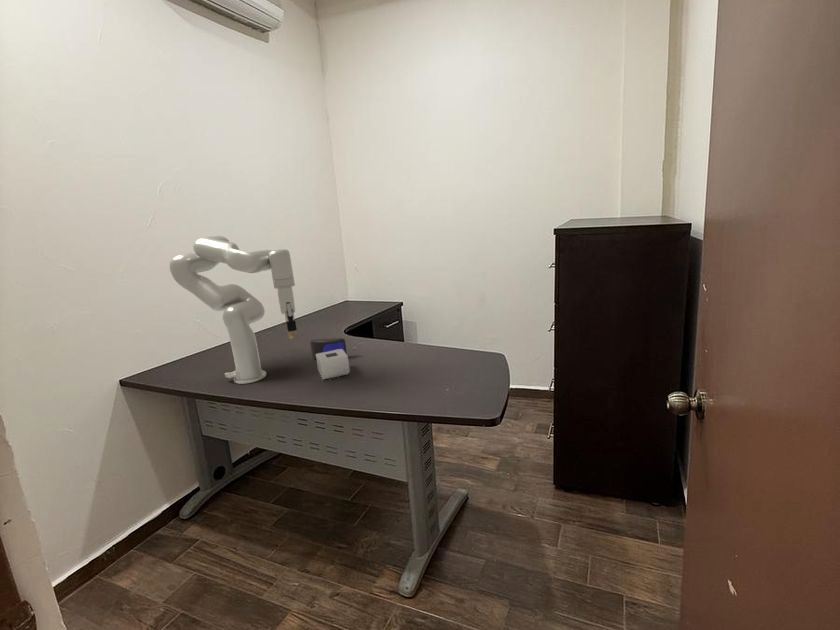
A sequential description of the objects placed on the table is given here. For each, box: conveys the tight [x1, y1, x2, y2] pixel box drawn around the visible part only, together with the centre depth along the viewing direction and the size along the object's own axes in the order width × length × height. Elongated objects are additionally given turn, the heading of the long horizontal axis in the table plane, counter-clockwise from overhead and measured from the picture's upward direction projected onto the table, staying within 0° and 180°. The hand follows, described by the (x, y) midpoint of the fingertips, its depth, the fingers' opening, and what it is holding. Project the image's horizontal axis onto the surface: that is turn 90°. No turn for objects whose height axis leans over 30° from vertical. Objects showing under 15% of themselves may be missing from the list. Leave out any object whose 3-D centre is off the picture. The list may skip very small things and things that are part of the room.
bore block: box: [316, 349, 351, 380], centre depth 169 cm, size 11×11×8 cm
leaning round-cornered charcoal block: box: [309, 337, 348, 361], centre depth 186 cm, size 16×5×9 cm, turn 84°
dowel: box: [284, 311, 299, 341], centre depth 159 cm, size 3×3×12 cm
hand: (291, 329), depth 160 cm, fingers closed on dowel, 3 cm apart
